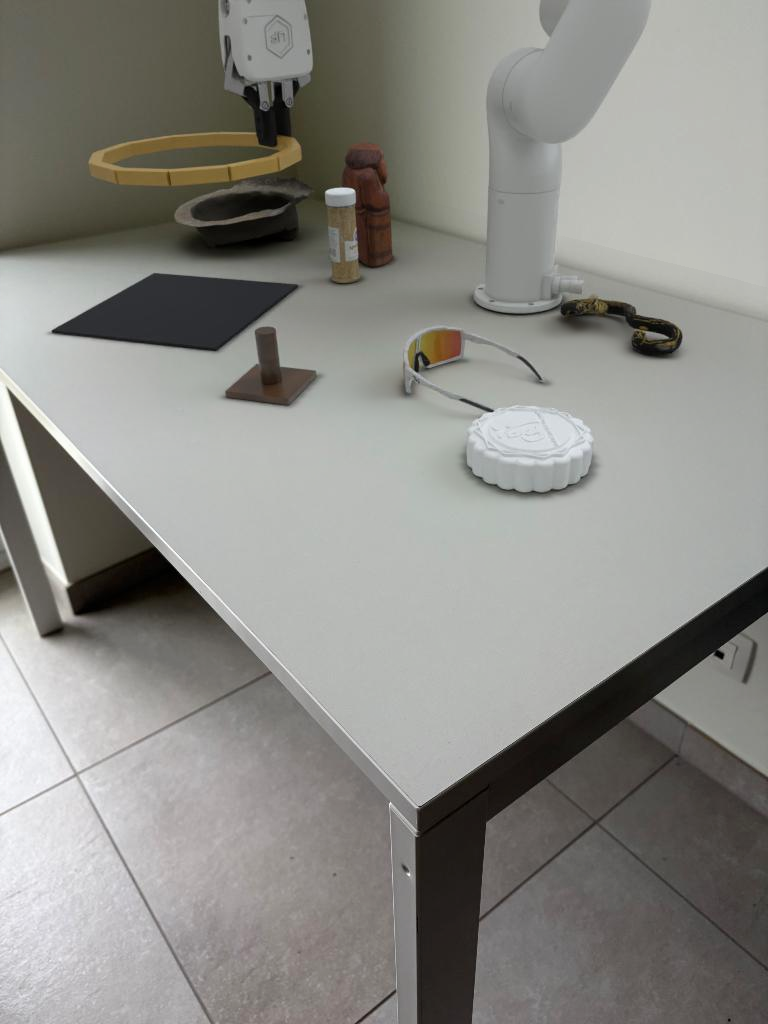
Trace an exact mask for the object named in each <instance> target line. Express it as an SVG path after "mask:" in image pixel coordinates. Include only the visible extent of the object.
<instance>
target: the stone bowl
mask: <svg viewBox="0 0 768 1024" xmlns="http://www.w3.org/2000/svg"><path fill="white" fill-rule="evenodd" d="M313 193H315V189H314V188H313V187H311V186H309V185H308V183H307V182H306V183H304V181H303V180H299V179H297V177H296V176H293V177H290V178H280V177H276V178H275V177H273V176H272V177H271V176H266V177H259V176H256V177H251V178H245V179H242V181H241V182H239V183H237V184H233V186H232V187H231V188H227V189H226V188H223V189H218V190H215V191H213V192H210V193H206V194H203V195H200V196H198V197H197V196H196V197H194V198H193V199H191V200H189V201H186V202H184V203H183V204H180V205H178V206H177V209H176V210H175V212H174V215H173V217H174V220H175V222H177V223H179V224H181V225H184V226H189V227H195V228H196V230H197V231H198V233H199V235H201V237H202V239H203V240H204V242H205V243H206V244H207V245H209V246H210V247H213V248H215V247H217V246H222V245H229V244H233V243H234V244H235V243H238V242H243V241H250V240H253V239H259V238H260V237H266V236H270V237H272V238H276V237H277V236H278V237H279V238H281V239H283V240H284V241H289V240H294V239H297V237H298V235H299V230H300V222H299V215H298V211H297V206H296V205H298V204H300V203H301V202H302V201H304V200H307V199H308V198H309V195H310V194H313Z"/></svg>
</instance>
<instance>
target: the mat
mask: <svg viewBox="0 0 768 1024" xmlns="http://www.w3.org/2000/svg"><path fill="white" fill-rule="evenodd" d="M298 287H299V284H297V283H287V282H286V283H285V282H284V283H283V282H272V281H259V280H248V279H246V280H245V279H237V278H235V279H234V278H222V277H210V276H209V277H208V276H198V275H186V274H185V275H184V274H173V273H171V274H170V273H159V272H153V273H152V274H150V275H148V276H146V277H143V278H142V279H141V280H139V281H137V282H135V283H134V284H132V285H130V286H128V287H127V288H125V289H123V290H121V291H120V292H118V293H116V294H114V295H112V296H110V297H108V298H106V299H105V300H103V301H102V302H99V303H98V304H95V305H94V306H93V307H91V308H89V309H87V310H86V311H83V312H81V313H80V314H78V315H76V316H75V317H72V318H71V319H69V320H67V321H66V322H64V323H62V324H59V325H58V326H56V327H54V328H53V329H52V330H51V333H52V334H58V335H66V336H67V335H68V336H77V337H84V338H85V337H87V338H94V339H105V340H113V341H123V342H132V343H141V344H149V345H150V344H151V345H159V346H169V347H178V348H187V349H196V350H205V351H215V352H216V351H218V350H220V348H221V347H223V346H224V345H225V344H227V343H228V342H229V341H231V340H232V339H233V338H235V337H236V336H237V335H238V334H240V333H241V332H242V331H244V330H245V329H246V328H248V326H250V325H252V323H253V322H255V321H256V320H258V319H259V318H260V317H261V316H262V315H264V314H265V313H267V312H268V311H269V310H271V309H272V308H273V307H274V306H276V305H277V304H278V303H279V302H281V301H282V300H283V299H284V298H286V297H287V296H288V295H290V294H291V293H292V292H293V291H295V290H296V289H298Z"/></svg>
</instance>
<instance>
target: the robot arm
mask: <svg viewBox="0 0 768 1024" xmlns="http://www.w3.org/2000/svg"><path fill="white" fill-rule="evenodd" d="M651 6H652V0H540V1H539V6H538V7H539V8H538V9H539V11H538V13H539V23H540V25H541V27H542V29H543V31H544V33H545V34H546V35H547V36H548V37H549V39H548V41H547V43H546V45H545V46H544V48H541V47H533V46H531V47H530V46H529V47H521V48H518V49H516V50H513V51H511V52H509V53H508V54H506V55H505V56H504V57H503V58H501V60H500V61H499V62H498V63H497V64H496V66H495V67H494V68H493V71H492V72H491V75H490V78H489V80H488V83H487V84H488V85H487V88H486V89H487V91H486V98H485V101H486V103H485V104H486V106H485V107H486V121H487V133H488V152H489V153H488V154H489V156H488V157H489V158H488V160H489V161H488V163H489V165H488V166H489V167H488V189H487V214H486V215H487V218H486V245H485V246H486V248H485V274H484V275H485V276H484V277H485V278H484V282H483V283H481V284H479V285H478V286H476V287H475V289H474V291H473V300H474V302H475V303H476V304H477V305H479V306H480V307H482V308H484V309H487V310H490V311H494V312H497V313H498V312H499V313H504V314H505V313H506V314H534V313H539V312H544V311H548V310H551V309H553V308H555V307H557V306H558V305H560V304H561V302H562V300H563V293H569V294H572V295H583V293H584V288H585V279H579V278H578V277H579V276H578V275H564V274H563V275H562V273H561V272H558V271H559V264H557V263H555V253H556V240H557V229H558V228H557V227H558V216H559V205H560V204H559V203H560V193H561V192H560V191H561V186H562V185H561V184H562V170H563V147H562V143H565V142H568V141H570V140H572V139H574V138H575V137H576V136H578V135H579V134H580V133H581V132H582V131H583V130H584V129H585V128H586V127H587V126H588V125H589V123H590V122H591V121H592V119H593V118H594V117H595V115H596V114H597V112H598V111H599V109H600V107H601V106H602V104H603V102H604V101H605V99H606V97H607V96H608V94H609V92H610V91H611V89H612V87H613V85H614V83H615V82H616V80H617V78H618V77H619V75H620V73H621V71H622V70H623V68H624V67H625V65H626V63H627V61H628V60H629V58H630V56H631V54H632V53H633V51H634V49H635V48H636V46H637V44H638V42H639V40H640V38H641V36H642V35H643V32H644V30H645V28H646V25H647V22H648V19H649V15H650V12H651ZM218 33H219V44H220V54H221V60H222V61H221V62H222V67H223V70H224V74H225V75H224V82H223V89H224V91H225V92H227V93H229V94H232V95H236V96H239V97H241V98H242V99H243V100H244V101H245V103H246V104H247V106H248V107H249V109H251V110H253V119H254V127H255V132H256V136H257V138H258V143H259V145H262V146H267V147H276V146H277V135H281V136H287V137H292V122H291V112H290V111H291V110H290V108H292V107H293V105H294V100H295V97H296V95H297V94H298V91H299V89H301V88H303V87H305V86H306V85H307V84H309V83H310V82H311V81H312V76H311V72H312V71H313V68H314V59H313V57H314V55H313V48H312V46H313V45H312V37H311V30H310V23H309V16H308V11H307V6H306V1H305V0H218ZM243 80H244V83H242V81H243ZM267 82H270V90H271V101H272V105H271V104H270V97H269V90H268V83H267Z"/></svg>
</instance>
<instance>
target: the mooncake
mask: <svg viewBox="0 0 768 1024" xmlns="http://www.w3.org/2000/svg"><path fill="white" fill-rule="evenodd" d="M470 425H471V426H470V427H468V428H467V430H466V450H465V451H466V453H465V454H466V464H467V466H468V467H469V468H471V472H472V473H473V475H475V476H476V477H479V478H482V480H483V481H484V482H485V483H487V484H489V485H497V486H498V487H499V488H500V489H503V490H508V491H509V490H515V491H517V492H519V493H530V492H537V493H547V492H549V491H551V490H556V491H557V490H563V489H564V488H566V487H567V486H568V485H574V484H578V482H580V480H581V477H585V476H586V475H587V474H588V473H589V469H590V466H591V464H592V459H593V457H592V456H593V449H594V441H595V438H594V437H593V435H592V430H591V428H590V427H589V426H587V425H585V424H584V422H583V420H581V419H580V418H577V417H573V416H572V414H570V412H566V411H559V410H557V409H556V408H554V407H539V406H537V405H528V406H525V405H519V404H516V405H513V406H510V407H498V408H496V410H495V411H493V412H489V413H488V412H484V413H482V415H481V416H480V418H475V419H474V420H473V421H472V422H471V424H470Z"/></svg>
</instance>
